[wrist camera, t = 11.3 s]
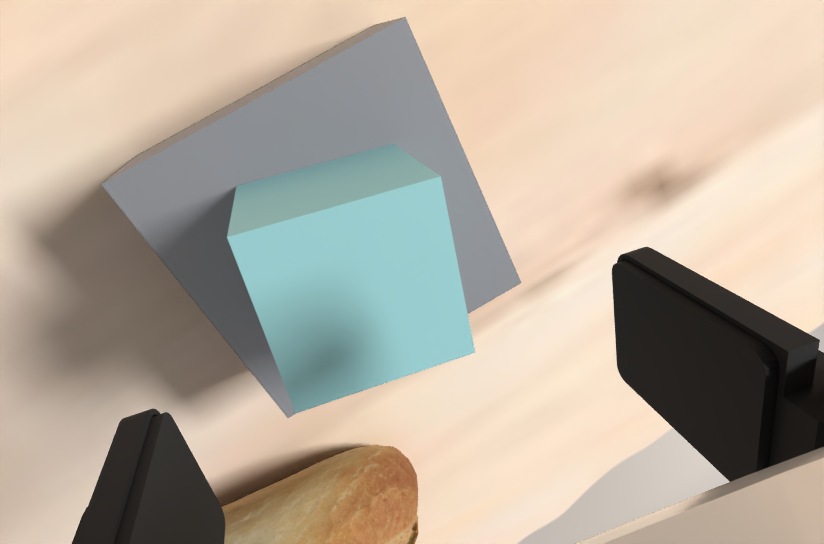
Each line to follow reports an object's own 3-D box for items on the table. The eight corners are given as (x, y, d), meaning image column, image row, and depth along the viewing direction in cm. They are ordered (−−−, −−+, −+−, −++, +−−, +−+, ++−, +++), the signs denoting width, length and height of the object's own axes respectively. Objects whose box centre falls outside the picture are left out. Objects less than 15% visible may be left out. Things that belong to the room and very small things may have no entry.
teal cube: (236, 186, 19) (227, 237, 14) (393, 143, 20) (440, 176, 15) (287, 325, 22) (295, 413, 17) (424, 281, 23) (474, 352, 17)
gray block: (137, 154, 24) (101, 184, 18) (373, 25, 24) (405, 16, 19) (283, 350, 29) (287, 418, 24) (473, 241, 29) (521, 282, 24)
